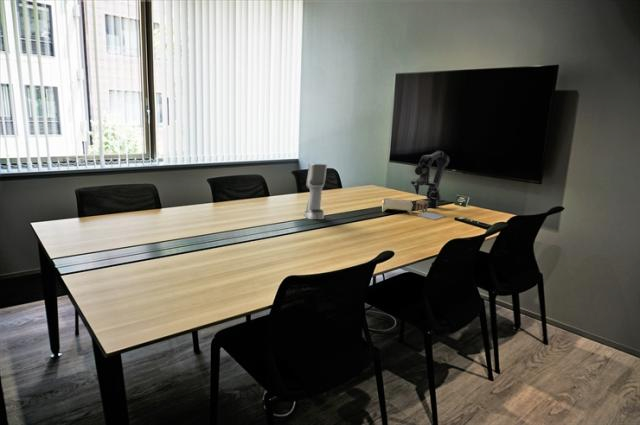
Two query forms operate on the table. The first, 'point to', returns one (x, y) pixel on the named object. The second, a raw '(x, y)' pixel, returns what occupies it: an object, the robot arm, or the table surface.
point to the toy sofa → (397, 204)
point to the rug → (431, 215)
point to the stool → (421, 203)
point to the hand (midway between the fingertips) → (423, 195)
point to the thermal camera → (315, 190)
